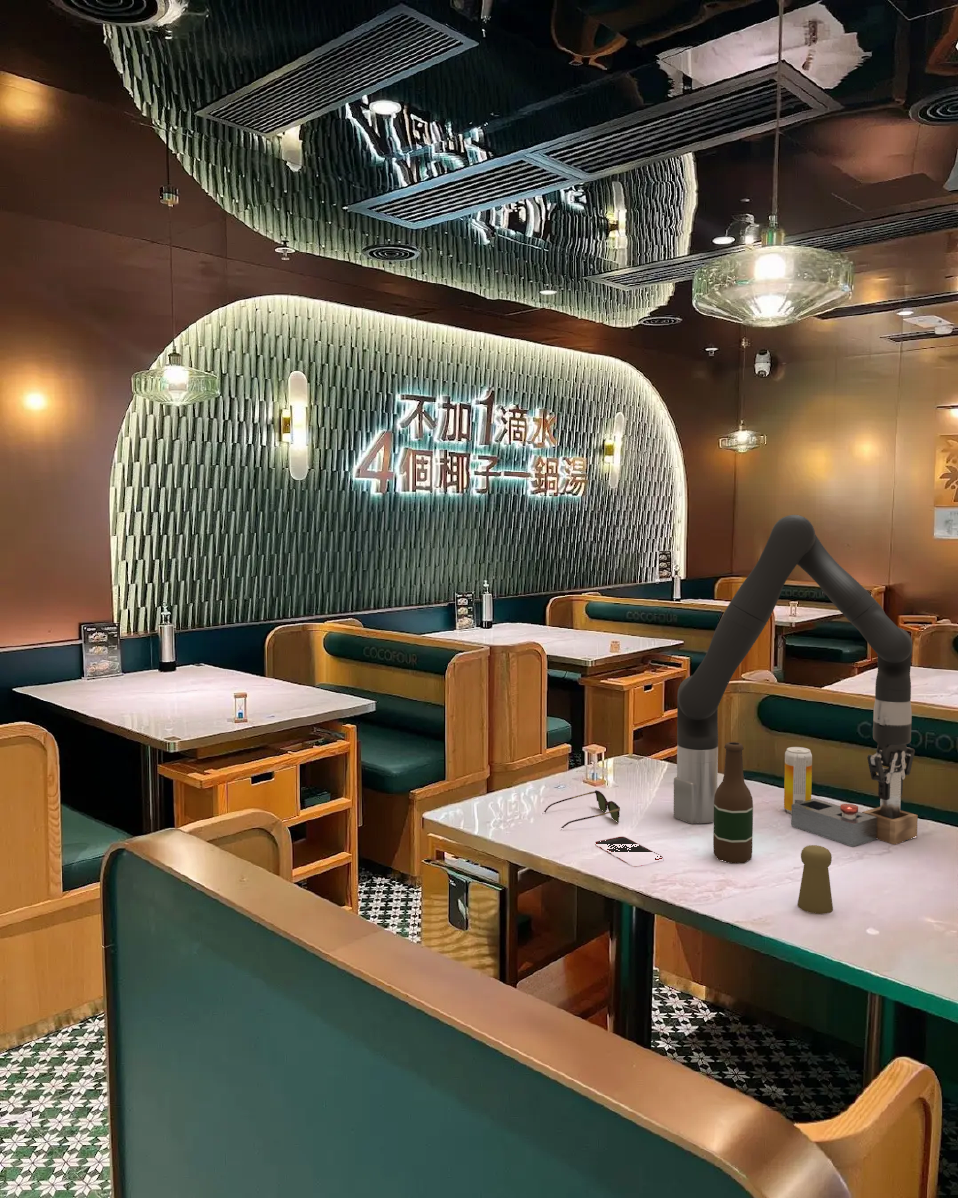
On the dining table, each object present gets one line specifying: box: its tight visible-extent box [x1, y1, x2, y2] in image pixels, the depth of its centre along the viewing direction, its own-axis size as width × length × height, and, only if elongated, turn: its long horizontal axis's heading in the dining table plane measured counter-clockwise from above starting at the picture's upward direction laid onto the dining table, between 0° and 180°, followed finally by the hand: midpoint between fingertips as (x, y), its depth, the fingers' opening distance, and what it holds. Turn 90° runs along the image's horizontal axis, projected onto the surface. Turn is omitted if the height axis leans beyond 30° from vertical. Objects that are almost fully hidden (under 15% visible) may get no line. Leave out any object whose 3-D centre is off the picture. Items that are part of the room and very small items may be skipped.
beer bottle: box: [712, 741, 754, 864], centre depth 188 cm, size 8×8×24 cm
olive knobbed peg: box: [797, 844, 834, 915], centre depth 164 cm, size 6×6×11 cm
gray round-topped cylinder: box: [879, 769, 902, 819], centre depth 200 cm, size 4×4×11 cm
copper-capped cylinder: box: [839, 803, 859, 820], centre depth 199 cm, size 4×4×6 cm
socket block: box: [790, 798, 877, 848], centre depth 202 cm, size 8×16×5 cm, turn 32°
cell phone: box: [595, 836, 664, 860], centre depth 192 cm, size 8×15×1 cm, turn 26°
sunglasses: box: [543, 789, 621, 829], centre depth 214 cm, size 14×15×5 cm
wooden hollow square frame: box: [861, 806, 918, 845], centre depth 200 cm, size 8×8×5 cm
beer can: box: [783, 746, 813, 815], centre depth 217 cm, size 6×6×15 cm
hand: (890, 796), depth 200 cm, fingers closed on gray round-topped cylinder, 4 cm apart
